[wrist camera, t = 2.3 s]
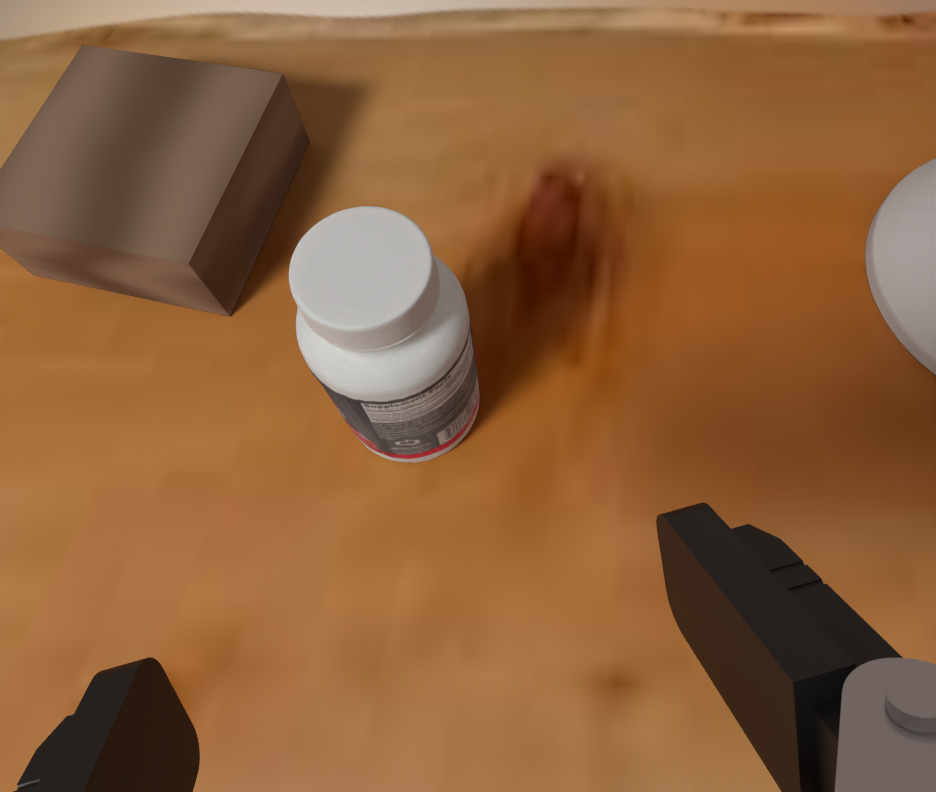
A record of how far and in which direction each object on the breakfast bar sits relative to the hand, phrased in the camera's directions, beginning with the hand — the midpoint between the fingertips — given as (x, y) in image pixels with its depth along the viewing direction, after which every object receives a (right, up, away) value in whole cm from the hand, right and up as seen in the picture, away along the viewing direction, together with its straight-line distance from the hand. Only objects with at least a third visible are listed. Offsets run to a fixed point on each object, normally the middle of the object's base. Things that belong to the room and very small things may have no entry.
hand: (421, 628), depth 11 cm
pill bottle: (-1, +3, +17) cm, 17 cm away
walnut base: (-13, +13, +21) cm, 28 cm away
